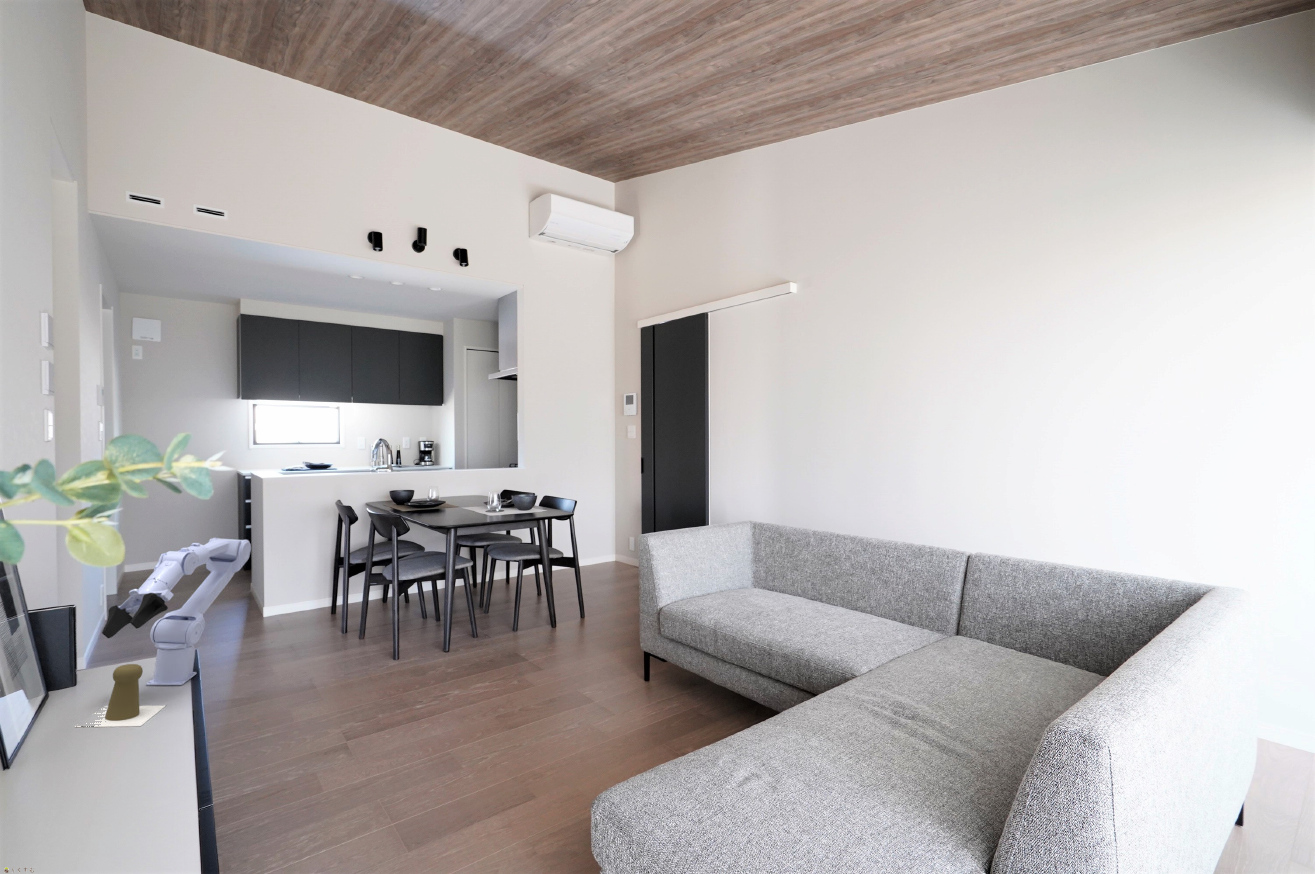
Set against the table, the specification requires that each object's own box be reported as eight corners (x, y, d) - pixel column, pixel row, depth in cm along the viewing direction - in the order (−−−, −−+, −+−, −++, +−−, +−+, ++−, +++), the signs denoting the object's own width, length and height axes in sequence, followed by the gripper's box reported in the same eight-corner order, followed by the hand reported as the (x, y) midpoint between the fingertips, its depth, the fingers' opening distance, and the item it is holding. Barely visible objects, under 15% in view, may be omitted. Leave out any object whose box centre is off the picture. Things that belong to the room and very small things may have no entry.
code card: (105, 706, 150) (105, 705, 150) (165, 706, 153) (165, 705, 153) (74, 727, 139) (74, 726, 139) (140, 726, 142) (140, 725, 142)
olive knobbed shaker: (124, 721, 143) (130, 670, 144) (97, 719, 143) (103, 667, 144) (146, 711, 149) (152, 662, 150) (120, 709, 149) (126, 660, 150)
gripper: (119, 585, 158) (79, 627, 147) (169, 567, 157) (134, 608, 145) (140, 605, 162) (103, 648, 150) (190, 587, 160) (157, 629, 148)
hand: (120, 630), depth 148 cm, fingers open, 7 cm apart
